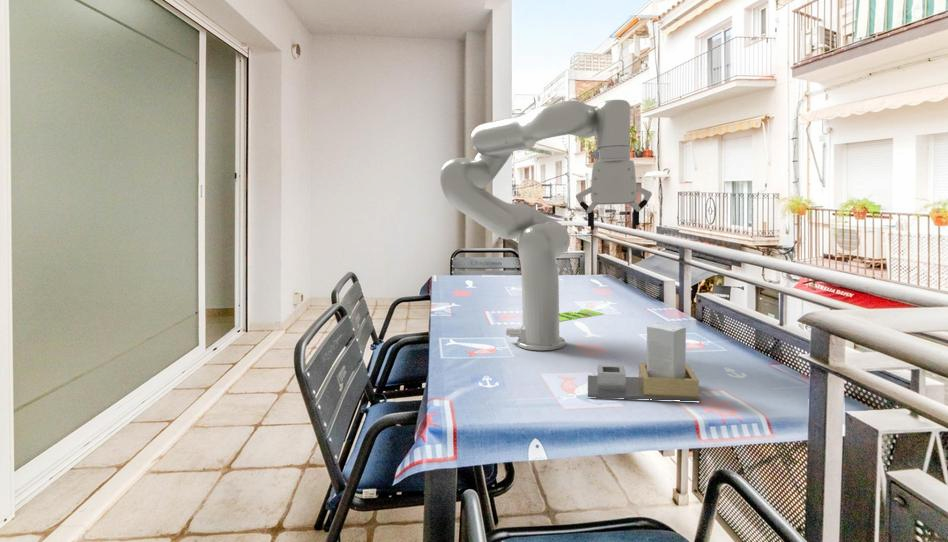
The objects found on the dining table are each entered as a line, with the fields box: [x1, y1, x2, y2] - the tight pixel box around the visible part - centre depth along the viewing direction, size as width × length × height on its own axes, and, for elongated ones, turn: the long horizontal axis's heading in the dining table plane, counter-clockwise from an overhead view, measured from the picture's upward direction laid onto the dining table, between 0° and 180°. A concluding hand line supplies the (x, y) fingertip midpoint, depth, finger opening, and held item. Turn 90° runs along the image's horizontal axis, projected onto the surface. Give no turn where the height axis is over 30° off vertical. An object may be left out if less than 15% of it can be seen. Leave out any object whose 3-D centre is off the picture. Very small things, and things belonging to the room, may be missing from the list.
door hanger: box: [559, 308, 604, 323], centre depth 171 cm, size 9×1×25 cm
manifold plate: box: [587, 362, 701, 402], centre depth 103 cm, size 20×11×4 cm, turn 78°
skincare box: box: [646, 323, 687, 378], centre depth 101 cm, size 6×4×12 cm
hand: (613, 229), depth 125 cm, fingers open, 9 cm apart
